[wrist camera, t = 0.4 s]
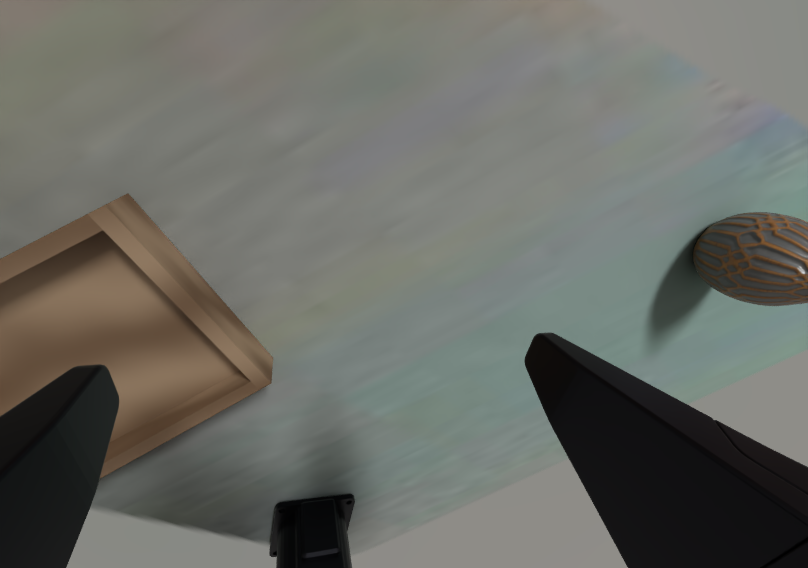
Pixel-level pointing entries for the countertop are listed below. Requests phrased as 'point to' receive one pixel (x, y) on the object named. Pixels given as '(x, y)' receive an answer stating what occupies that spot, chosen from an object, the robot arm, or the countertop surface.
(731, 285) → the vase
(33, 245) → the wooden tray
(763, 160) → the countertop surface
